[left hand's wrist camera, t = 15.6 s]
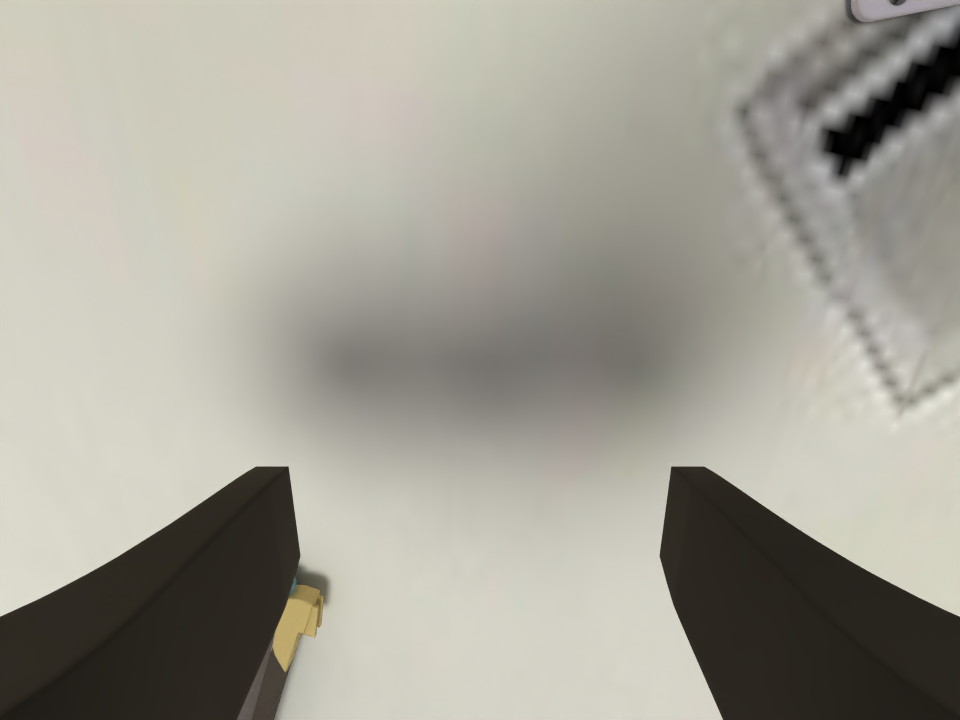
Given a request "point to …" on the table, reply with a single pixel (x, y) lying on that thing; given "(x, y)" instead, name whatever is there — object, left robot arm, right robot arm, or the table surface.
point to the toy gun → (283, 652)
